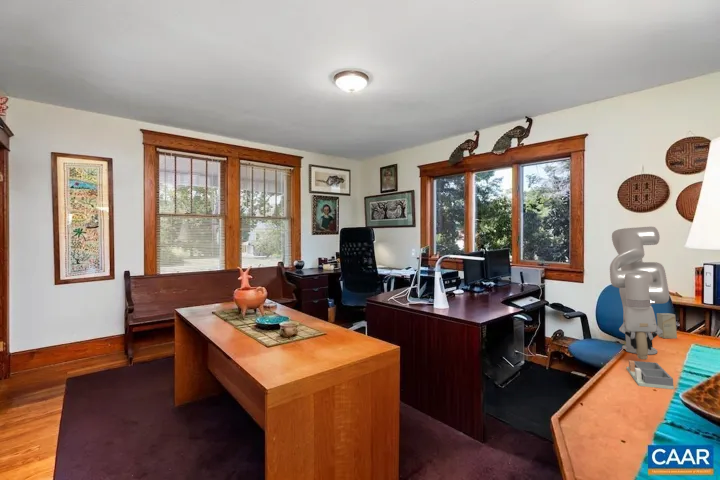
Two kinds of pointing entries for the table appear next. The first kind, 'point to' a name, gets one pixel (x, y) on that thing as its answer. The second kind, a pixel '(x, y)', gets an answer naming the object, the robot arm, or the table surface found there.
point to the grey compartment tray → (650, 375)
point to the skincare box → (667, 325)
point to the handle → (641, 343)
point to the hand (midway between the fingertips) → (641, 347)
